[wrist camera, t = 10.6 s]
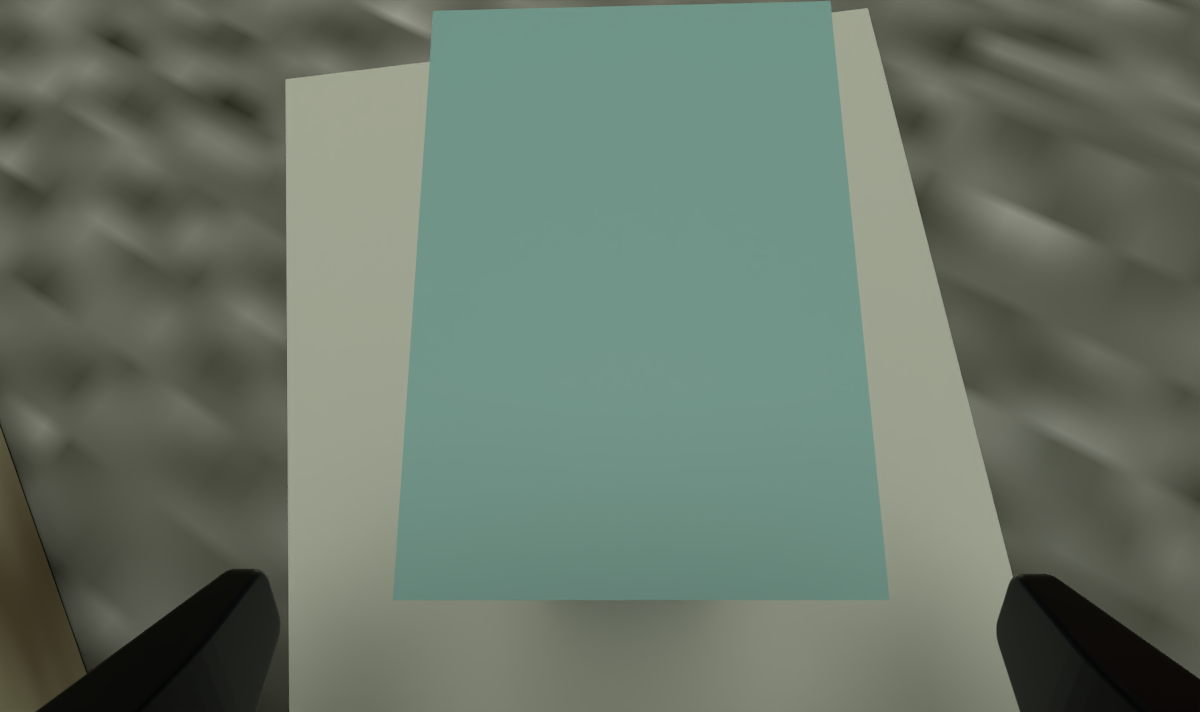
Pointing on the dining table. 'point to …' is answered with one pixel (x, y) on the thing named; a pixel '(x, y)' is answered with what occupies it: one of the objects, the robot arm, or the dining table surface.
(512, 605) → the mat
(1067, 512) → the dining table surface
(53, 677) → the plate
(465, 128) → the tall teal block
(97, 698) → the robot arm
